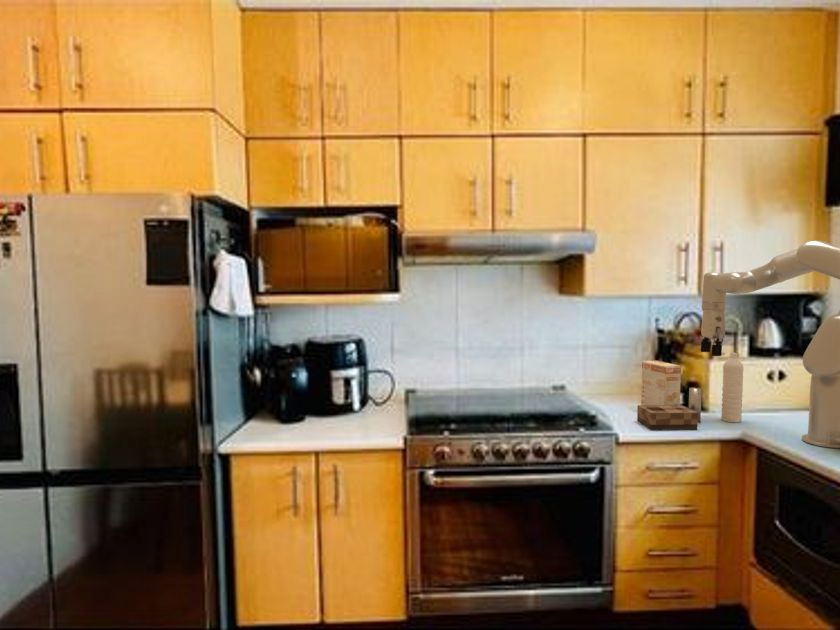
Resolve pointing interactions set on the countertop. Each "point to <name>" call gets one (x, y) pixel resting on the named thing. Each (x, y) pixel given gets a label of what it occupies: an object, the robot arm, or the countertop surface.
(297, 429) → the countertop surface
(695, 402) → the steel pin
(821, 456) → the countertop surface
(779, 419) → the countertop surface
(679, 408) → the walnut block
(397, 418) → the countertop surface
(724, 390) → the water bottle
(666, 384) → the coffeecake box
